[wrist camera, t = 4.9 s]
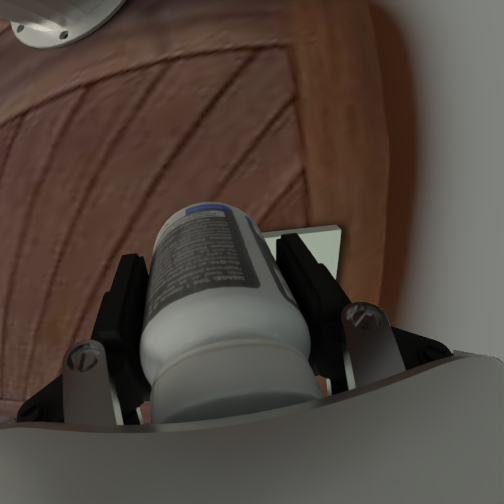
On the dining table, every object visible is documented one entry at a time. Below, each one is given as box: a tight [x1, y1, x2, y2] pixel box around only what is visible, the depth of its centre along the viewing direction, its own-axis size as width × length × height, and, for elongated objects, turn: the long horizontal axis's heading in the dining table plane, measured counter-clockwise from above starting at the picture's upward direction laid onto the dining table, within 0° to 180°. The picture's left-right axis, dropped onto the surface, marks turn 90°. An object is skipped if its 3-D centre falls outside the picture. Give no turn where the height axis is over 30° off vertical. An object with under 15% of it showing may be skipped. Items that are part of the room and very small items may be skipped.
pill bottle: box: [139, 202, 324, 424], centre depth 9 cm, size 5×5×8 cm
